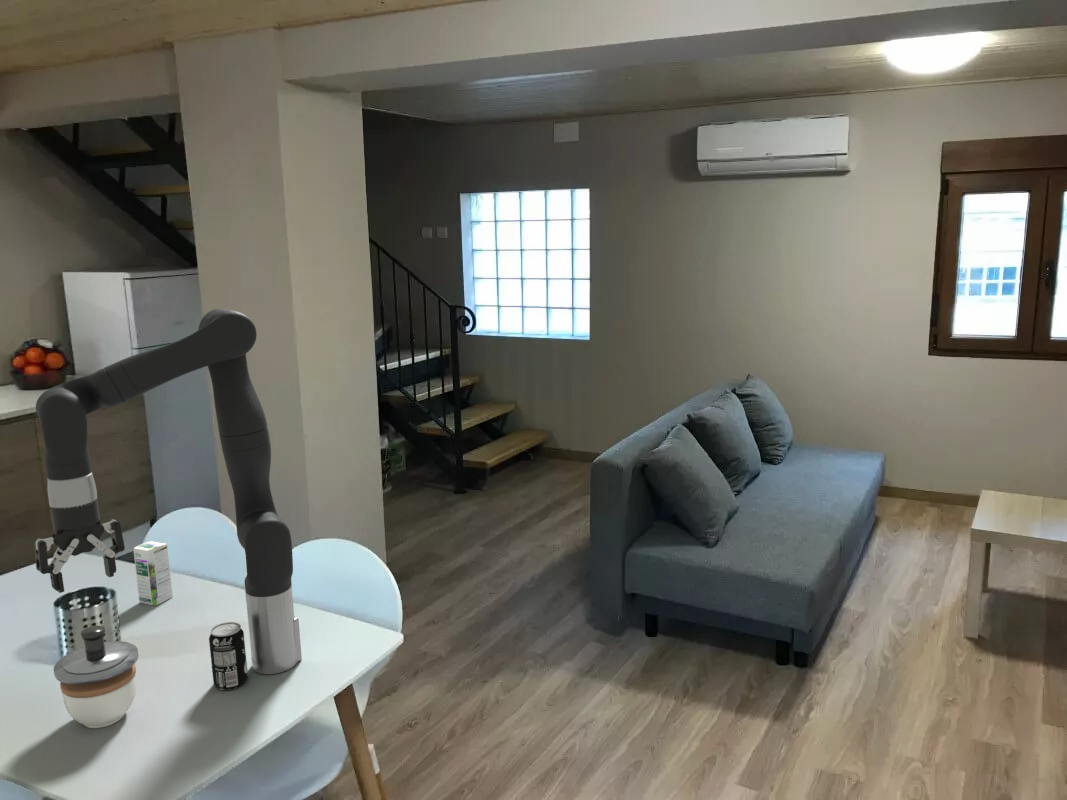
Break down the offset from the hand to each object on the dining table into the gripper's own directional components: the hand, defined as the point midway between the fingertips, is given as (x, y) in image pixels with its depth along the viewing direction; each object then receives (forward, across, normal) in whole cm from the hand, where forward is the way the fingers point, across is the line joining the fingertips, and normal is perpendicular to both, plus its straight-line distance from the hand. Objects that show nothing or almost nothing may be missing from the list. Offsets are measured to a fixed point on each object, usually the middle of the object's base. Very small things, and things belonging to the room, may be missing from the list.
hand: (85, 583), depth 152 cm
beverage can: (+28, -22, +7) cm, 36 cm away
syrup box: (+28, -29, -44) cm, 59 cm away
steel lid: (+16, 0, 0) cm, 16 cm away
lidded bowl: (+27, 0, 0) cm, 27 cm away
